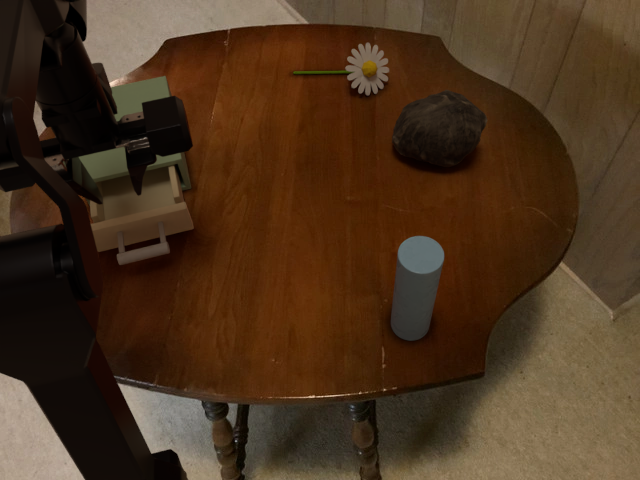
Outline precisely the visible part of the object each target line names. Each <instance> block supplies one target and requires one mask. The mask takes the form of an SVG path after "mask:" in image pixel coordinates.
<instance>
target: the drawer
mask: <svg viewBox="0 0 640 480" xmlns="http://www.w3.org/2000/svg"><path fill="white" fill-rule="evenodd" d="M95 183H96V185H97V186H98V188H99V191H100V193H101V195H102V198H103V204H100V205H99V204H97V203H95V202H93V201H90V206H89V210H90V219H91V220H92V222H93V223H91V227H92V231H93V235H94V239H95V244H96V248H97V252H98V253H100V252H105V251H109V250H113V249H117V248H118V253H117V254H116V260H117V262H118V265H119V266H124V265H128V264H132V263H135V262H140V261H144V260H147V259H152V258H157V257H160V256H165V255H168V254H170V253H171V248H170V245H169V242H168V241H167V236H171V235H174V234H178V233H183V232H187V231H192V230H194V229H195V227H194V222H193V221H194V220H193V218H192V216H191V214H190V211H189V208H188V205H187V202H186V201H185V200H184V193H183V191H182V188H181V183H180V177H179V172H178V166H177V164H174V165H169V166H165V167H161V168H156V169H152V170H148V171H145V174H144V177H143V182H142V193H141V195H139V196H138V195H137V194H136V192H135V191H134V188H133V185H132V182H131V178H130V175H126V176H121V177H117V178H113V179H108V180H104V181H99V182H95ZM158 238H159V240H160V242H159V243H156V244H152V245H148V246H144V247H139V248H135V249H132V250H128V251H126V248H125V246H130V245H133V244H138V243H142V242H146V241H150V240H154V239H158Z"/></svg>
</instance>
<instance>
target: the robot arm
mask: <svg viewBox="0 0 640 480" xmlns="http://www.w3.org/2000/svg"><path fill="white" fill-rule="evenodd" d="M87 2H88V0H0V191H2V192H4V193H9V192H13V191H17V190H22V189H27V188H31V187H34V186H35V184H36V185H37V187H39V189H41V190H42V191H43V193H45V195H46V196H47V197H49V199H50V200H51V201H52V202H53V203H54V204H55V205H56V206H57V207H58V209H59V212H60V216H61V220H62V221H61V222H62V223H58V224H53V225H48V226H44V227H39V228H33V229H29V230H23V231H19V232H14V233H10V234H5V235H0V374H2V375H4V376H6V377H9V378H12V379H15V380H18V381H20V382H23V384H24V385H25V387H26V388H27V389H28V391H29V392H30V394H31V396H32V397H33V399H34V400H35V402H36V404H37V405H38V407H39V408H40V410H41V411H42V413H43V415H44V417H45V418H46V420H47V421H48V423H49V425H50V426H51V428H52V429H53V431H54V433H55V434H56V436H57V437H58V439H59V441H60V442H61V444H62V446H63V447H64V448H65V450H66V452H67V453H68V455H69V457H70V458H71V460H72V461H73V463H74V465H75V466H76V468H77V470H78V471H79V473H80V474H81V476H82V477H83V479H84V480H189V478H188V473H187V471H186V470H185V469H184V467H183V465H182V463H181V460H180V457H179V454H178V453H177V452H175V451H174V450H173V449H172V448H168V449H164V450H160V451H156V452H153V453H152V452H151V450H150V448H149V445H148V443H147V441H146V440H145V437H144V435H143V433H142V431H141V429H140V427H139V425H138V422H137V420H136V418H135V417H134V414H133V413H132V410H131V408H130V405H129V404H128V402H127V399H126V398H125V396H124V393H123V392H122V391H123V390H122V389H121V387H120V385H119V383H118V381H117V379H116V376H115V375H114V372H113V371H112V369H111V366H110V364H109V362H108V360H107V358H106V356H105V354H104V351H103V350H102V348H101V346H100V343H99V342H98V339H97V333H98V325H99V318H100V311H101V304H102V298H103V297H102V296H103V291H104V276H103V275H104V274H103V269H102V264H101V260H100V256H99V252H98V251H97V248H96V244H95V239H94V235H93V231H92V227H91V224H92V223H91V220H90V219H91V218H90V216H89V212H88V211H89V210H88V208H87V205H86V203H85V201H84V199H85V198H86V199H88V200H90V201H93V202H95V203H97V204H99V205H100V204H103V198H102V195H101V193H100V191H99V188H98V186H97V185H96V183H95V182H94V180H93V179H92V177H91V176H90V174H89V173H88V171H87V169H86V168H85V166H84V165H83V163H82V162H81V160H80V158H79V157H80V156H85V155H89V154H94V153H98V152H103V151H107V150H112V149H116V148H121V147H124V148H125V154H126V163H127V169H128V172H129V175H130V178H131V182H132V185H133V188H134V191H135V192H136V194H137V195H138V196H139V195H141V193H142V182H143V177H144V174H145V171H146V169H147V166H148V165H152V164H154V163H155V162H156V161H157V157H156V155H159V156H161V157H164V156H169V155H173V154H178V153H182V152H184V153H186V152H189V151H190V150H191V149H192V148H193V147H194V143H193V139H192V134H191V130H190V129H191V128H190V124H189V120H188V116H187V115H188V114H187V111H186V108H185V105H184V101H183V99H181V98H179V97H178V96H177V95H172V96H170V97H166V98H161V99H156V100H152V101H147V102H142V109H143V111H142V112H137V113H132V114H128V115H124V116H123V117H122V118H121V119H120V120H119V121H116V118H115V116H114V115H115V114H118V112H117V105H116V103H115V100H114V98H113V96H112V89H111V87H112V86H111V84H110V81H109V78H108V75H107V71H106V69H105V66H104V64H103V62H93V63H92V61H91V58H90V56H89V53H88V51H87V48H86V46H85V44H84V42H85V41H86V40H87V35H88V3H87ZM36 104H37V106H38V108H39V110H40V112H41V121H42V123H43V124H44V126H45V127H46V129H47V128H50V129H51V131H52V133H53V134H54V137H52V138H47V139H43V140H40V136H39V132H38V128H37V126H36V123H35V119H34V116H35V108H36ZM83 198H84V199H83ZM86 199H85V200H86Z"/></svg>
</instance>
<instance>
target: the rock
mask: <svg viewBox="0 0 640 480" xmlns="http://www.w3.org/2000/svg"><path fill="white" fill-rule="evenodd" d="M487 123H488V117H487V114H486V113H485V112H484V111H482V110H481V109H480V107H478V106H476V105H475V104H474V103H473V102H472V101H470V100H469V99H468V98H467V97H466V96H465V95H464V94H462V93H460V92H459V93H458V92H455V91H453V90H452V91H451V90H449V89H444V90H442V91H440V92H438V93H434V94H433V93H432V94H429V95H428V96H426V97H424V98H419V99H416V100H414V101H411V102H409V103H407V104H406V105H404V106H403V108H402V109H401V112H400V114H399V116H398V117H397V119H396V121H395V124H394V126H393V130H392V132H393V133H392V136H391V143H392V145H393V146H394V148H395V150H396V151H397V152H398V154H399V155H401V156H403V157H406V158H413V159H415V160H416V161H420V162H427V163H429V164H431V165H435V166H439V167H444V168H450V167H454V166H456V165H458V164H460V163H461V162H462V161H463V160H464V159H465V157H467V156H469V154H471V153H473V152H474V150H475V149H476V148H477V146H479V144H480V142H481V136H482V133H483V132H484V130H485V129H486V127H487Z"/></svg>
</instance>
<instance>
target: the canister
mask: <svg viewBox="0 0 640 480" xmlns="http://www.w3.org/2000/svg"><path fill="white" fill-rule="evenodd" d="M396 255H397V256H396V264H395V265H396V267H395V276H394V285H393V287H394V288H393V295H392V304H391V314H390V327H391V330H392V332H393V333H394V335H396V336H397V337H398V338H400V339H401V340H405V341H409V342H410V341H411V342H413V341H417V340H420V339H422V338H424V337H425V336H426V335H427V333H428V332H429V330H430V326H431V321H432V317H433V312H434V307H435V302H436V298H437V294H438V289H439V284H440V279H441V276H442V271H443V266H444V262H445V251H444V249H443V247H442V245H441V244H440V243H439V242H438V241H436V240H435V239H434V238H431V237H429V236H425V235H415V236H414V235H413V236H410V237H408V238H406V239H405V240H404V241H403V242H402V243H401V244H400V245H399V247H398V249H397V254H396Z"/></svg>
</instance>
